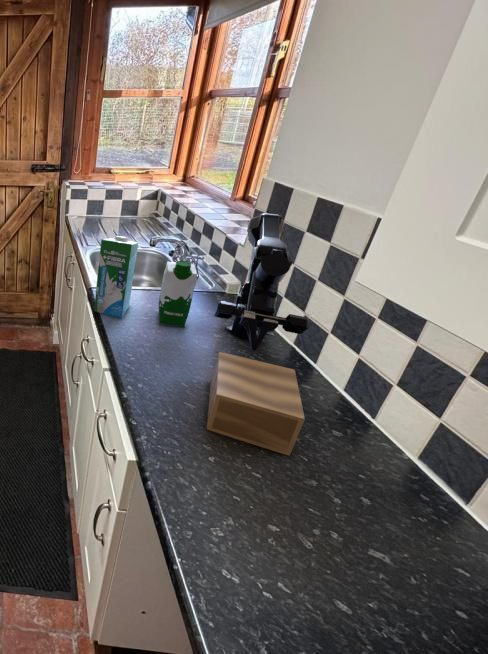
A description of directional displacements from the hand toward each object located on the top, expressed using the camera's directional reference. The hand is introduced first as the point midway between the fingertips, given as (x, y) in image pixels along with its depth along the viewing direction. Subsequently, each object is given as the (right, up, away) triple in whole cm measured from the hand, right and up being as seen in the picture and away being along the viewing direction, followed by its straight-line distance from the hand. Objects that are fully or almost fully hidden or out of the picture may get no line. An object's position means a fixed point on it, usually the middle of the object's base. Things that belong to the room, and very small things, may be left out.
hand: (253, 350), depth 97 cm
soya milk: (-6, +4, +30) cm, 30 cm away
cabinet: (-7, -13, -8) cm, 17 cm away
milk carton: (-23, +7, +37) cm, 44 cm away
